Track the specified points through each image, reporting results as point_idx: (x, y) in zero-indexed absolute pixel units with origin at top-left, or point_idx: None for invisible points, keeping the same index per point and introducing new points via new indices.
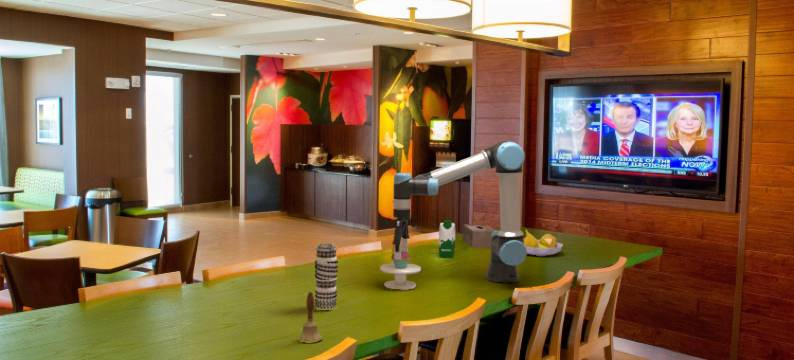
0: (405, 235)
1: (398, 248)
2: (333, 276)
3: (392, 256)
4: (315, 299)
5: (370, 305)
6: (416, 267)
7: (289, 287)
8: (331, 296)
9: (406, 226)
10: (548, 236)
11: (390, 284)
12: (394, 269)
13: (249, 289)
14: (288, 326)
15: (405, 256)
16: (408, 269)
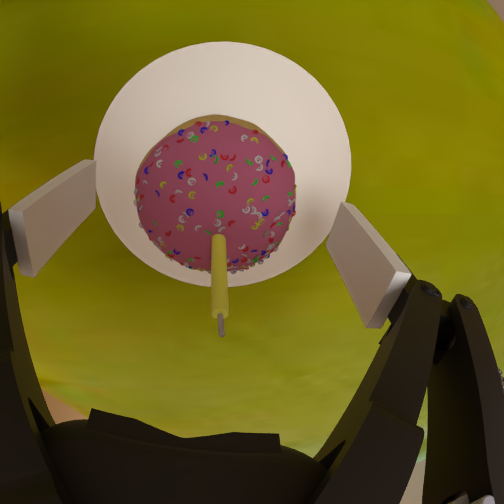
0: (6, 261)
1: (409, 270)
2: (501, 372)
3: (254, 265)
4: None
5: (459, 249)
6: (207, 70)
7: (273, 416)
8: None
9: (11, 419)
10: None
11: None
12: None
13: (290, 444)
14: (496, 347)
15: (283, 165)
16: (278, 123)
